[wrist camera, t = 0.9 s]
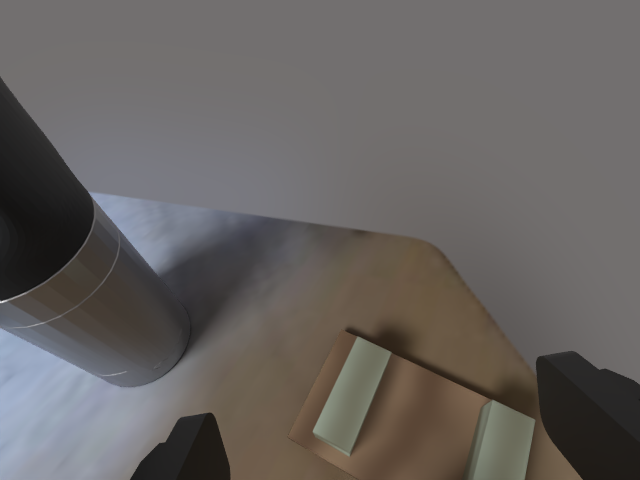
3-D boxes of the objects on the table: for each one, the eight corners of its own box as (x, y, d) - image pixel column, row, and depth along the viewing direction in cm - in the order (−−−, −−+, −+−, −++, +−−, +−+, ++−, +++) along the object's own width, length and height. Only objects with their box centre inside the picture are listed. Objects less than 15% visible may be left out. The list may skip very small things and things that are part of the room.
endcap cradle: (288, 438, 31) (282, 431, 27) (341, 333, 35) (341, 316, 32) (487, 556, 26) (508, 565, 22) (516, 416, 31) (537, 406, 27)
